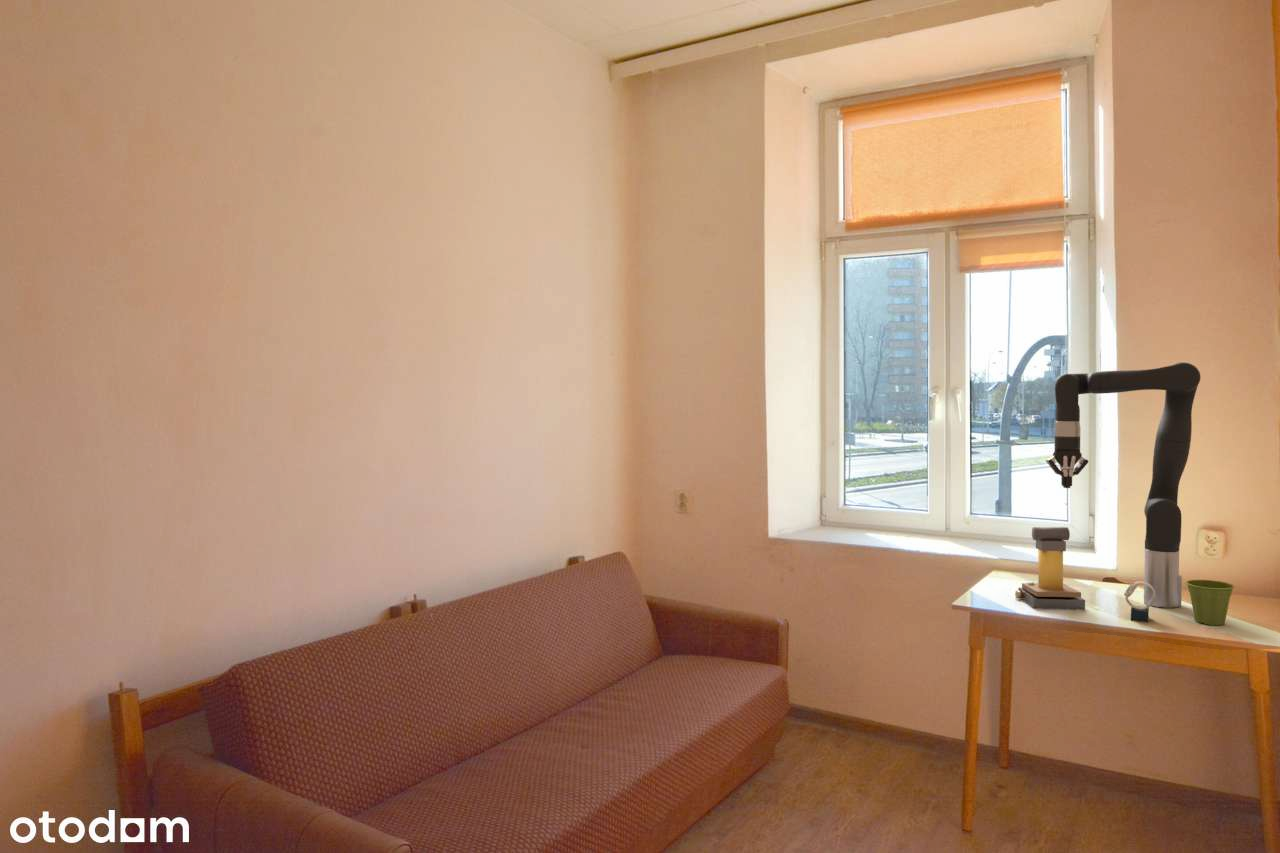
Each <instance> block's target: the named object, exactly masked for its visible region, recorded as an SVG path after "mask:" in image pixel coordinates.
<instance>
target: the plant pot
mask: <svg viewBox="0 0 1280 853" xmlns="http://www.w3.org/2000/svg"><path fill="white" fill-rule="evenodd" d="M1185 584H1186V585H1187V587H1188V588H1187V589H1188V592H1189V595H1190V601H1191V605H1192V606H1191V607H1192V611H1193V617H1194V621H1195V622H1196V623H1199V624H1200V623H1202V624H1204V625H1206V624H1207V625H1208V626H1221V625H1225V624H1226V620H1227V615H1228V610H1229V605H1230V604H1229V603H1230V600H1231V596H1232V595H1233V594H1232V592H1233V590H1234V589H1235V588H1236V586H1235V584H1233V583H1229V582H1225V581H1219V580H1211V579H1189V580H1186V581H1185ZM1207 625H1206V626H1207Z"/></svg>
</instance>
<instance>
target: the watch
mask: <svg viewBox="0 0 1280 853" xmlns="http://www.w3.org/2000/svg"><path fill="white" fill-rule="evenodd" d="M1140 584H1141V585H1143V586H1144V585H1147V586H1149V587H1150V588H1151V589H1152V590H1153V592H1154V593H1153V596H1152V598H1151V600H1150V602H1149V603H1148V604H1146V605H1145V606H1140V605H1137V606H1136V605H1134V604H1133V603H1132V602H1131V601H1130V600H1129V598H1130V597H1131V596H1132V595H1133V593H1134V592H1135V590H1136V589H1137V587H1138V586H1139V585H1140ZM1123 596H1124V597H1125V601H1126V603H1127V604H1128V606H1129V607H1130V608H1131V609H1130V621H1131V622H1132V621H1134V622H1142V623H1149V619H1150V618H1149V616H1150V614H1149V613H1150V610H1149V609H1150V607H1152V606H1151V605H1152V604H1153V602H1154V600H1155V598H1156V596H1155V590H1154V588H1153V587H1152V586H1151V585H1150V584H1148V583H1146V582H1144V580H1136V581H1132V582H1131V583H1130V584H1129V586H1128V587H1127V588H1126V590H1125V592H1124V594H1123Z"/></svg>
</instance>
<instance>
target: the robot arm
mask: <svg viewBox="0 0 1280 853" xmlns="http://www.w3.org/2000/svg"><path fill="white" fill-rule="evenodd" d="M1200 381H1201V372H1200V371H1199V369H1198V368H1197V367H1196V365H1194V364H1191V363H1190V362H1176V363H1175V364H1171V365H1167V366H1163V367H1158V368H1157V367H1156V368H1150V369H1135V370H1133V369H1131V370H1130V369H1129V370H1106V371H1105V370H1104V371H1094V372H1091V373H1084V372H1083V373H1063V374H1061V375H1059V376H1058V377H1057V378H1056V381H1055V384H1054V395H1055V403H1056V408H1055V424H1054V432H1053V433H1054V434H1053V435H1054V452H1053V453H1052V456H1051V457H1050V458H1047V459H1046V460H1045V462H1046V463H1047V464H1048V465H1049V467H1050V468H1051V469H1052V471H1053V472H1054V473H1055V474H1056V475H1059V476H1060V477H1061V482H1060V483H1061V487H1063V488H1064V489H1070V488H1071V487H1072V486H1073V477H1074V476H1076V475H1079V474H1080V473H1081V472H1082V470H1084V468H1085V467H1086V466H1087V465H1088V463H1089V460H1088V459H1086V458H1084V457H1083V455H1082V454H1083V453H1082V452H1081V422H1080V421H1081V420H1080V418H1081V416H1080V415H1081V413H1080V412H1081V409H1080V405H1079V395H1085V394H1087V395H1088V394H1096V395H1097V394H1099V395H1100V394H1116V393H1117V394H1118V393H1126V392H1133V391H1134V392H1135V391H1142V390H1143V391H1147V390H1155V391H1157V390H1159V391H1165V395H1164V396H1165V398H1164V406H1163V411H1162V414H1161V416H1160V419H1159V424H1158V426H1157V432H1156V435H1155V441H1154V449H1153V458H1152V475H1151V476H1152V478H1151V483H1150V489H1149V492H1148V495H1147V496H1148V497H1147V498H1146V503H1145V505H1144V506H1145V507H1144V511H1143V512H1144V516H1145V519H1146V520H1145V539H1144V565H1143V566H1144V568H1143V569H1144V570H1143V571H1144V573H1143V574H1144V576H1143V582H1146V583H1148V584H1150V585H1151V586H1152V587H1153V588H1154V590H1155V596H1156V598H1155V600H1154V602H1153V604H1152V605H1151V606H1150V607H1157V608H1165V609H1166V608H1179V607H1182V597H1183V596H1182V595H1183V594H1182V590H1183V588H1182V587H1183V586H1182V585H1183V577H1182V575H1180V545H1181V538H1182V511H1181V508H1180V506H1179V505H1178V498H1179V486H1180V481H1181V478H1182V476H1183V474H1184V471H1185V467H1186V465H1187V462H1188V458H1189V454H1190V449H1191V448H1190V447H1191V441H1192V424H1193V423H1192V422H1193V421H1192V415H1193V414H1192V410H1193V404H1194V400H1195V396H1196V392H1197V389H1198V387H1199V384H1200ZM1056 463H1057V464H1058V465H1059V467H1058V466H1057V464H1056ZM1076 464H1077V465H1076ZM1075 465H1076V466H1075ZM1153 593H1154V592H1153V590H1152V589H1151V588H1150V587H1149V586H1147V585H1144V584H1143V603H1144V604H1145V605H1147V604H1148V603H1149V602H1150V600H1151V598H1152V596H1153Z"/></svg>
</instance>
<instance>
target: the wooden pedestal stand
mask: <svg viewBox="0 0 1280 853" xmlns="http://www.w3.org/2000/svg"><path fill="white" fill-rule="evenodd" d="M1070 535H1071V534H1070V529H1069V527H1065V526H1064V527H1063V526H1062V527H1058V526H1055V527H1053V526H1051V527H1050V526H1049V527H1048V526H1047V527H1045V526H1041V527H1040V526H1039V527H1037V526H1032V528H1031V538H1032V540H1033V541H1035V549H1037V550H1038V551H1037V553H1038V560H1037V561H1038V568H1037V569H1038V577H1037V578H1038V580H1037V581H1038V582H1037V583H1035V582H1034V581H1027V582H1022V583H1021V588H1023V589H1025V590H1027V591H1028V592H1030V593H1032V594H1033V595H1035V596H1038V597H1081V598H1082V592H1081V591H1080V590H1077V589H1075V588H1073V587H1072V586H1070V585H1067V584H1066V583H1064V552H1066V551H1067V550H1066V549H1067V547H1066V546H1067V544H1066V543H1067V541H1069V540H1070Z"/></svg>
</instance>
